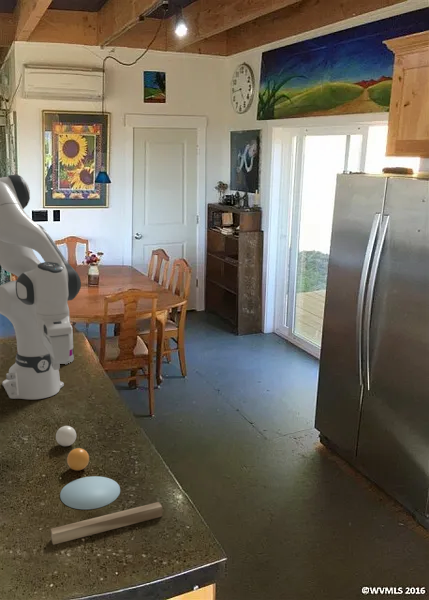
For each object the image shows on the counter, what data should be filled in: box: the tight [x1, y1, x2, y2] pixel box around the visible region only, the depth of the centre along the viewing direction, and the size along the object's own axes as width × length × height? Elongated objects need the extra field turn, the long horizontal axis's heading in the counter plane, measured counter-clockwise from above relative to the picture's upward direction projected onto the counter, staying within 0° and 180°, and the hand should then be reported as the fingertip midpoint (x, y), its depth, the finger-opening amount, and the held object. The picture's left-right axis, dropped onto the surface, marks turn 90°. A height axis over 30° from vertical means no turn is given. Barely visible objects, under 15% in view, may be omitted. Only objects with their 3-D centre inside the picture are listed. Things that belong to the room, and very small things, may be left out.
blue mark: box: [59, 475, 121, 510], centre depth 143 cm, size 14×14×1 cm
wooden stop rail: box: [50, 501, 163, 545], centre depth 129 cm, size 2×24×2 cm, turn 116°
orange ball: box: [66, 447, 90, 471], centre depth 152 cm, size 6×6×6 cm
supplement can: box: [60, 323, 75, 365], centre depth 228 cm, size 8×8×15 cm
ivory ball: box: [55, 425, 77, 447], centre depth 165 cm, size 6×6×6 cm
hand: (55, 368), depth 169 cm, fingers closed
